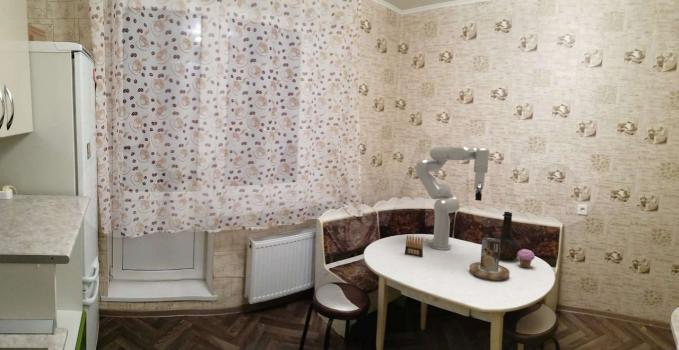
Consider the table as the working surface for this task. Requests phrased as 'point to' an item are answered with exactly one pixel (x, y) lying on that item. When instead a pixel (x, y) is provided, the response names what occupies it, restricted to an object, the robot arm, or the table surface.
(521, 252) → the cupcake
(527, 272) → the table surface
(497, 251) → the coffee box
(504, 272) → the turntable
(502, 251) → the dark brown vase
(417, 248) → the ammunition clip
